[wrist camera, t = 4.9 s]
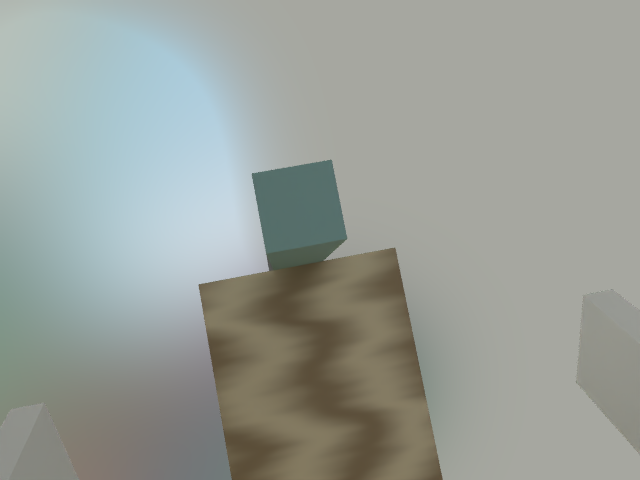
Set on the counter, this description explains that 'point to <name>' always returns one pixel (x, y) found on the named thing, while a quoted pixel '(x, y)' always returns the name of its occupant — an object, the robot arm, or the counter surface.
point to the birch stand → (320, 373)
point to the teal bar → (299, 214)
